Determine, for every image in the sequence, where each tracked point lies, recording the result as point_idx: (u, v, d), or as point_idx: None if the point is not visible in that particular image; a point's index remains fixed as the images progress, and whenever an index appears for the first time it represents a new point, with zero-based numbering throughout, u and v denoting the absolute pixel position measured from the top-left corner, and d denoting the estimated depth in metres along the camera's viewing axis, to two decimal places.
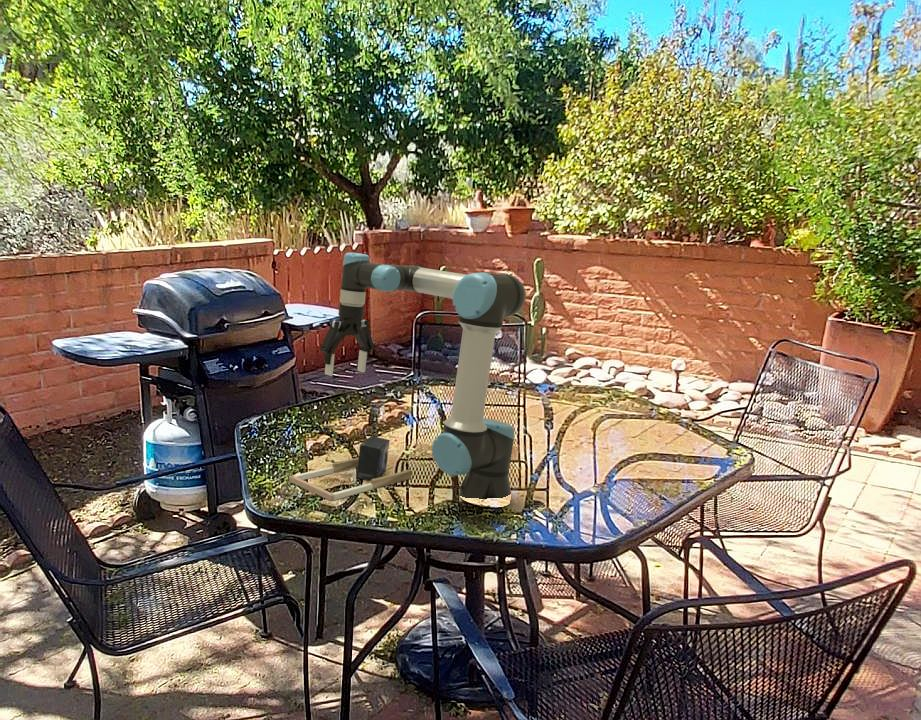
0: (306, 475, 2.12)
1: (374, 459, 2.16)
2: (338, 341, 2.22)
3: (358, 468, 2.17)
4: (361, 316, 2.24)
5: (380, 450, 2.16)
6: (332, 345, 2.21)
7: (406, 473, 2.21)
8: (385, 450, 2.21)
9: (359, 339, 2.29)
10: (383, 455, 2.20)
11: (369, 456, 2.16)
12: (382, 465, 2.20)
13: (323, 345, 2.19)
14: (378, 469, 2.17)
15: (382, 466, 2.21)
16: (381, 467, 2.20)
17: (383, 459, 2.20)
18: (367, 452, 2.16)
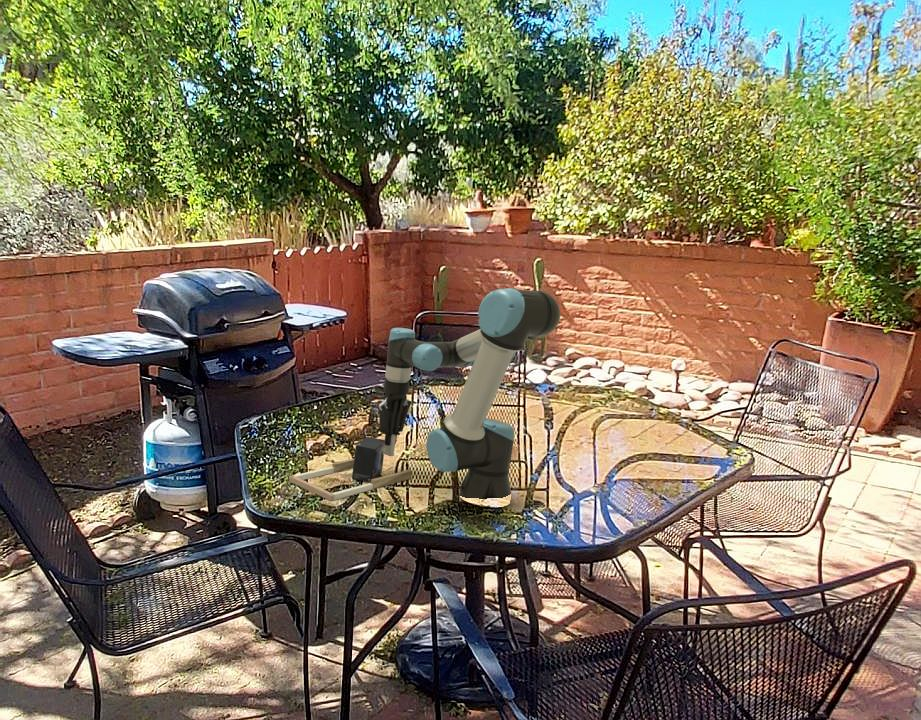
0: (306, 475, 2.12)
1: (370, 459, 2.15)
2: (392, 421, 2.23)
3: (354, 469, 2.16)
4: (406, 392, 2.22)
5: (376, 450, 2.15)
6: (389, 427, 2.23)
7: (406, 473, 2.21)
8: (381, 450, 2.20)
9: (396, 417, 2.25)
10: (379, 455, 2.18)
11: (365, 456, 2.15)
12: (378, 466, 2.19)
13: (382, 428, 2.23)
14: (374, 470, 2.16)
15: (378, 467, 2.19)
16: (377, 468, 2.19)
17: (379, 460, 2.19)
18: (363, 453, 2.15)
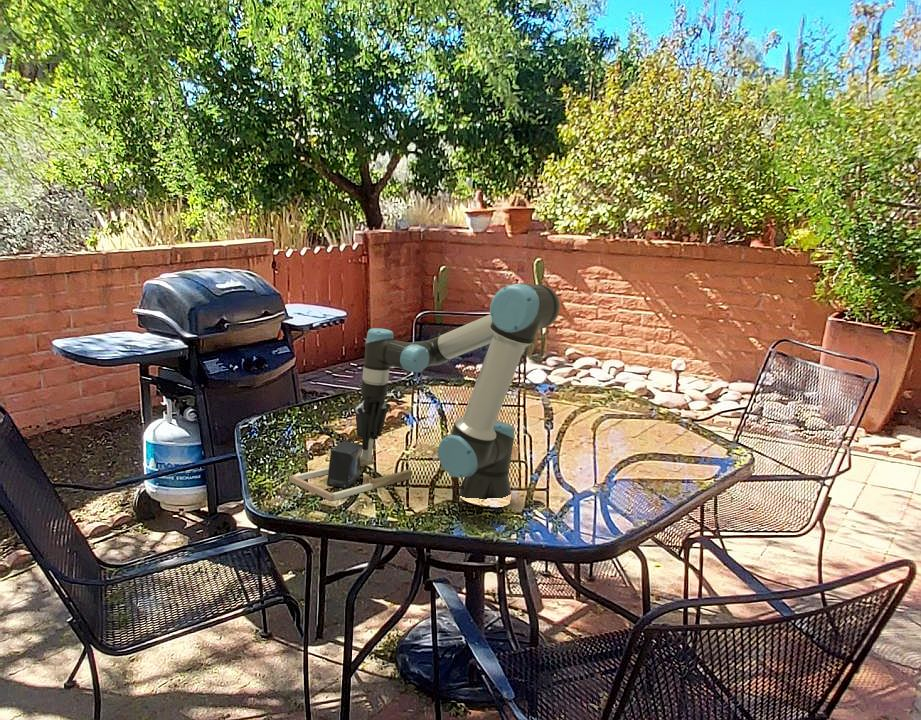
0: (306, 475, 2.12)
1: (345, 465, 2.07)
2: (369, 424, 2.16)
3: (329, 474, 2.09)
4: (384, 394, 2.14)
5: (352, 455, 2.08)
6: (366, 431, 2.16)
7: (406, 473, 2.21)
8: (357, 455, 2.13)
9: (374, 420, 2.18)
10: (355, 461, 2.11)
11: (340, 462, 2.08)
12: (354, 471, 2.12)
13: (358, 432, 2.15)
14: (350, 476, 2.09)
15: (354, 472, 2.12)
16: (353, 473, 2.11)
17: (355, 465, 2.12)
18: (338, 458, 2.08)
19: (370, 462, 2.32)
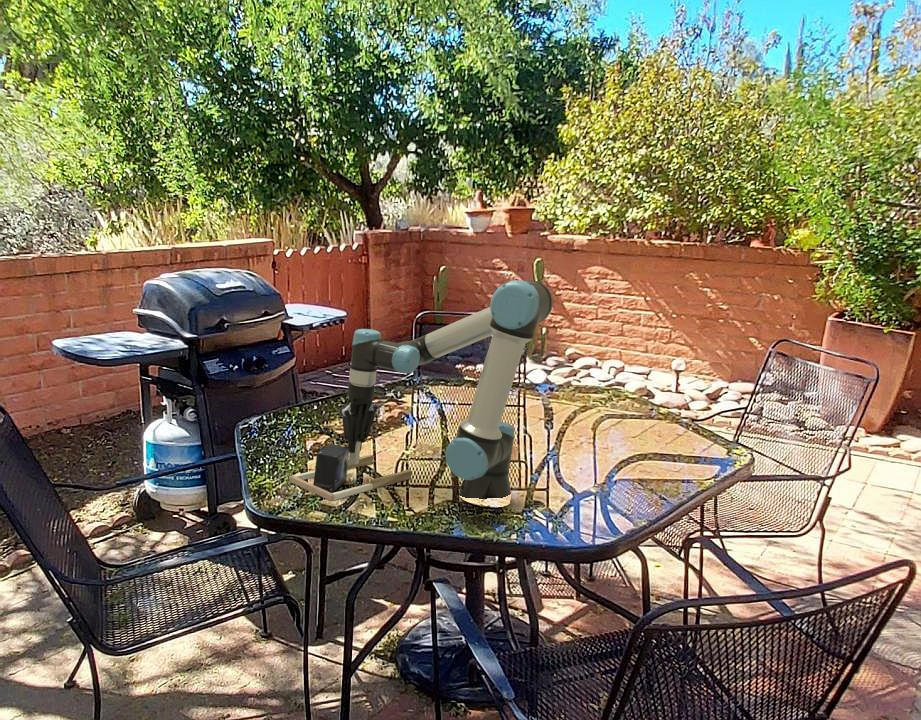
0: (306, 475, 2.12)
1: (332, 468, 2.03)
2: (356, 427, 2.12)
3: (315, 478, 2.05)
4: (371, 396, 2.10)
5: (338, 459, 2.04)
6: (353, 433, 2.12)
7: (406, 473, 2.21)
8: (344, 459, 2.09)
9: (361, 423, 2.13)
10: (342, 464, 2.07)
11: (326, 465, 2.03)
12: (341, 474, 2.08)
13: (345, 435, 2.11)
14: (336, 479, 2.05)
15: (341, 476, 2.08)
16: (340, 477, 2.07)
17: (342, 468, 2.08)
18: (324, 461, 2.03)
19: (370, 462, 2.32)
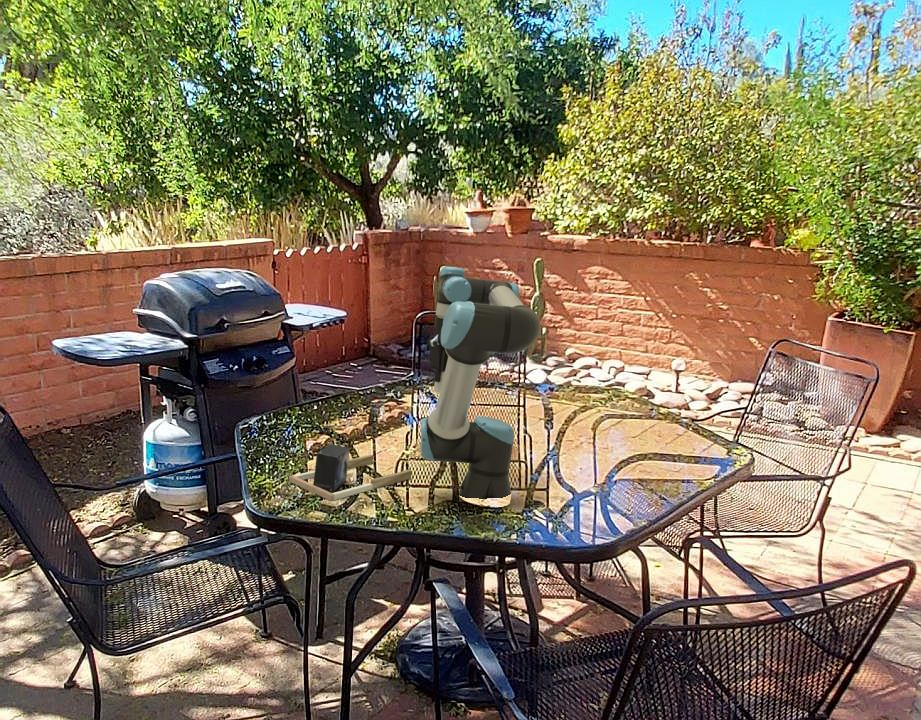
0: (306, 475, 2.12)
1: (332, 468, 2.03)
2: (442, 357, 2.29)
3: (315, 478, 2.05)
4: None
5: (338, 459, 2.04)
6: (439, 364, 2.30)
7: (406, 473, 2.21)
8: (344, 459, 2.09)
9: (446, 354, 2.31)
10: (342, 464, 2.07)
11: (326, 465, 2.03)
12: (341, 475, 2.08)
13: (432, 365, 2.29)
14: (336, 480, 2.05)
15: (341, 476, 2.08)
16: (340, 477, 2.07)
17: (342, 468, 2.08)
18: (324, 462, 2.03)
19: (370, 462, 2.32)
